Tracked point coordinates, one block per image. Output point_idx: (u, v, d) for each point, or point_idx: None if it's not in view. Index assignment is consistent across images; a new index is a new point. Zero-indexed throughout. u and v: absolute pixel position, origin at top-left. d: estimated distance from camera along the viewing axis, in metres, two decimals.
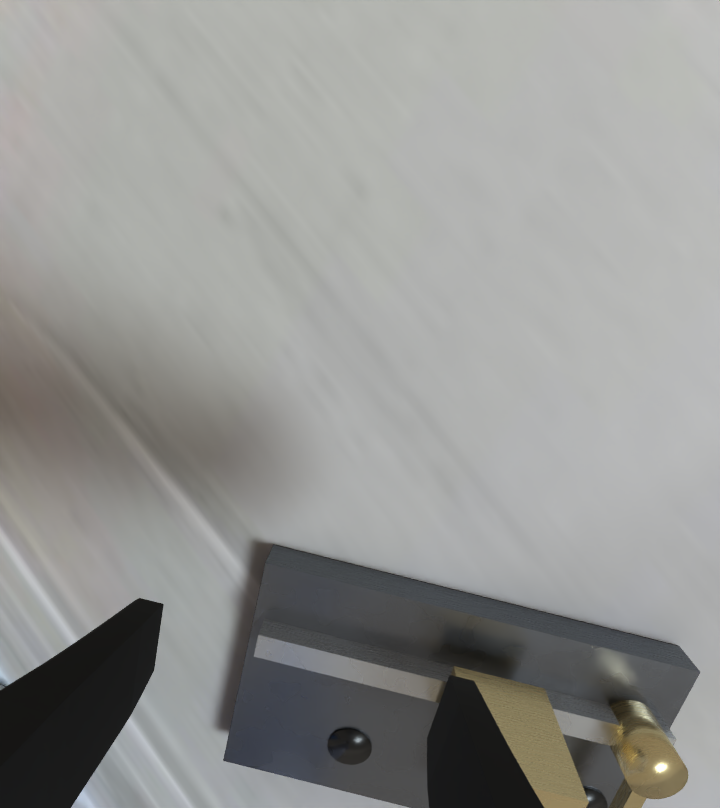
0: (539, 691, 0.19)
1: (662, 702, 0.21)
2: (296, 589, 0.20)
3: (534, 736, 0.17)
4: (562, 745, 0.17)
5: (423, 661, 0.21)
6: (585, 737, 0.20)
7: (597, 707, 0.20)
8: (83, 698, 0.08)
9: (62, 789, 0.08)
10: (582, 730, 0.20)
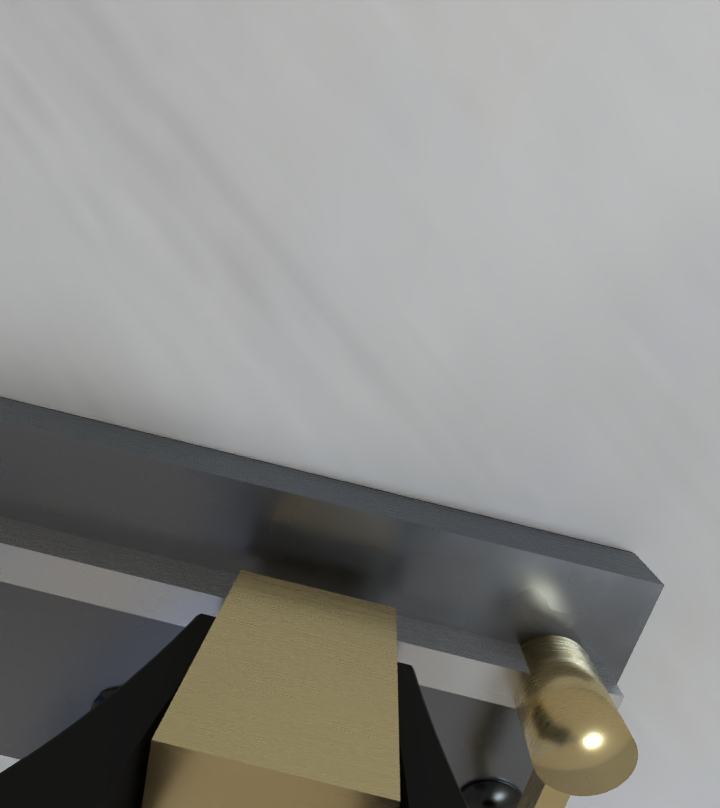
0: (384, 611, 0.11)
1: (605, 638, 0.13)
2: None
3: (336, 677, 0.09)
4: (388, 693, 0.09)
5: (214, 573, 0.13)
6: (474, 694, 0.12)
7: (497, 646, 0.13)
8: None
9: None
10: (468, 681, 0.12)
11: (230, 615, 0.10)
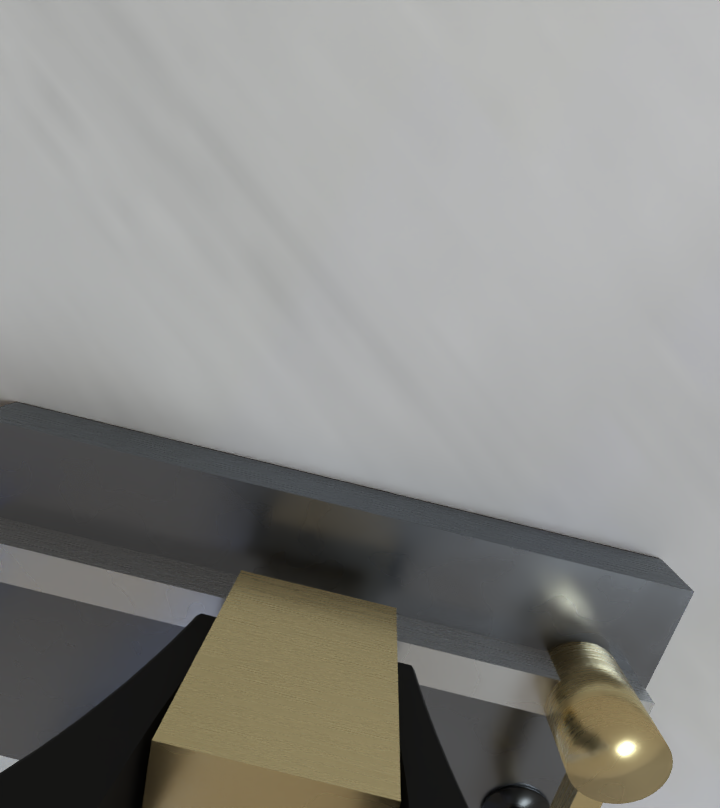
0: (384, 611, 0.11)
1: (633, 645, 0.13)
2: (28, 461, 0.12)
3: (337, 676, 0.09)
4: (389, 693, 0.09)
5: None
6: (504, 701, 0.12)
7: (526, 653, 0.13)
8: None
9: None
10: (498, 689, 0.12)
11: (230, 615, 0.10)
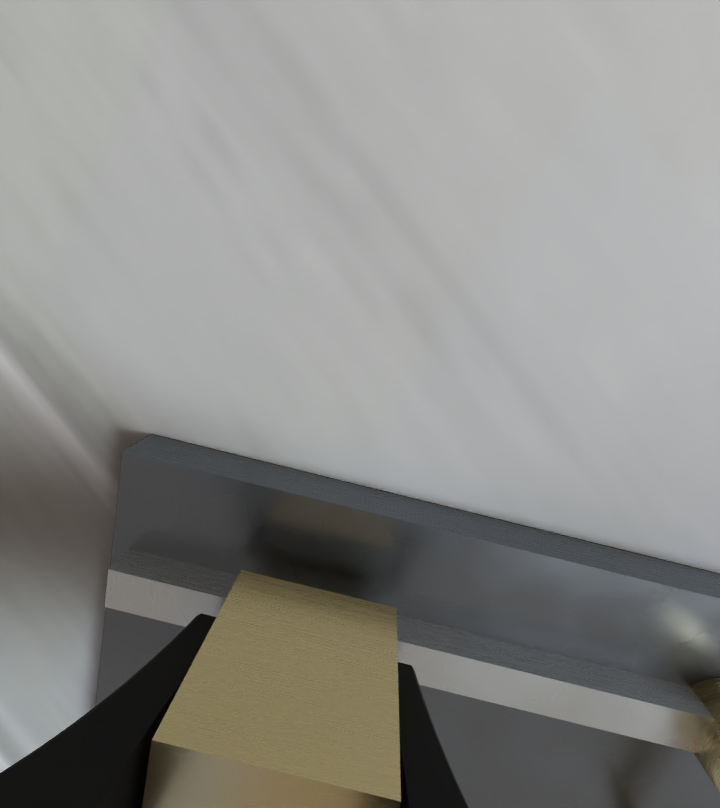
0: (384, 611, 0.11)
1: None
2: (176, 496, 0.12)
3: (337, 676, 0.09)
4: (389, 693, 0.09)
5: None
6: (654, 739, 0.12)
7: (672, 689, 0.12)
8: None
9: None
10: (650, 726, 0.12)
11: (230, 615, 0.10)
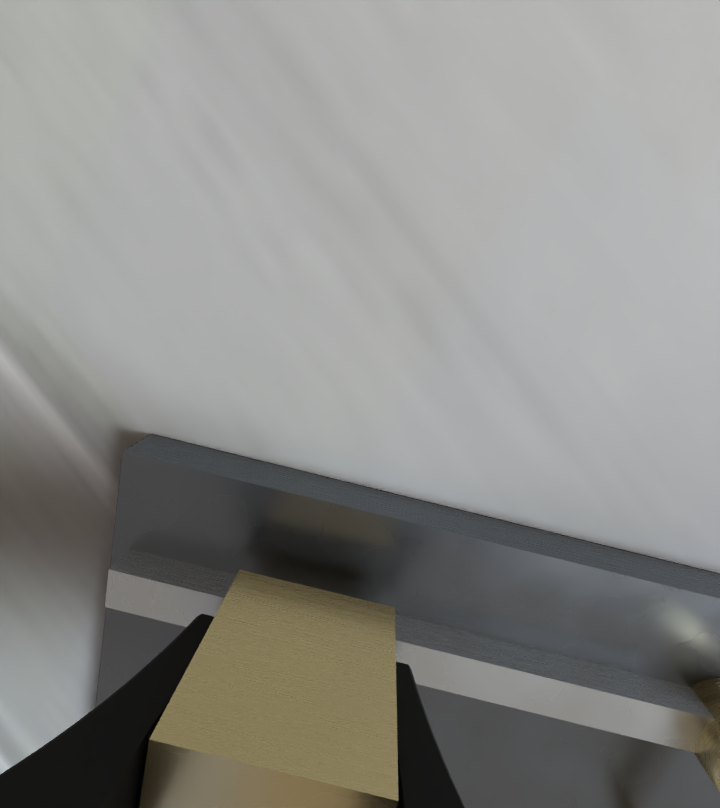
0: (382, 611, 0.11)
1: None
2: (176, 496, 0.12)
3: (335, 676, 0.09)
4: (387, 693, 0.09)
5: None
6: (655, 739, 0.12)
7: (672, 689, 0.12)
8: None
9: None
10: (650, 726, 0.12)
11: (229, 614, 0.10)
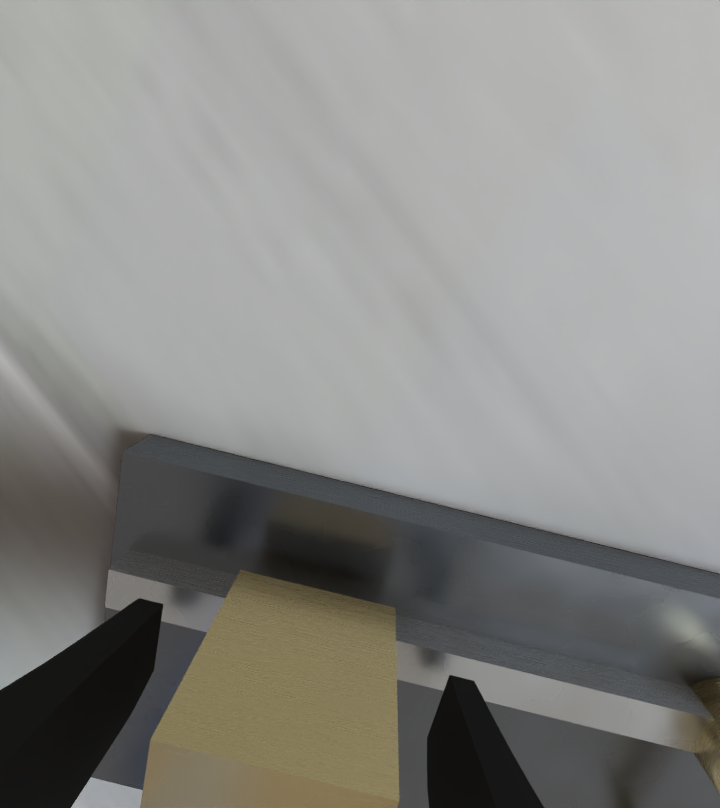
0: (383, 611, 0.11)
1: None
2: (176, 497, 0.12)
3: (336, 676, 0.09)
4: (387, 693, 0.09)
5: None
6: (654, 739, 0.12)
7: (672, 689, 0.13)
8: (83, 697, 0.08)
9: (62, 789, 0.08)
10: (649, 727, 0.12)
11: (229, 615, 0.10)
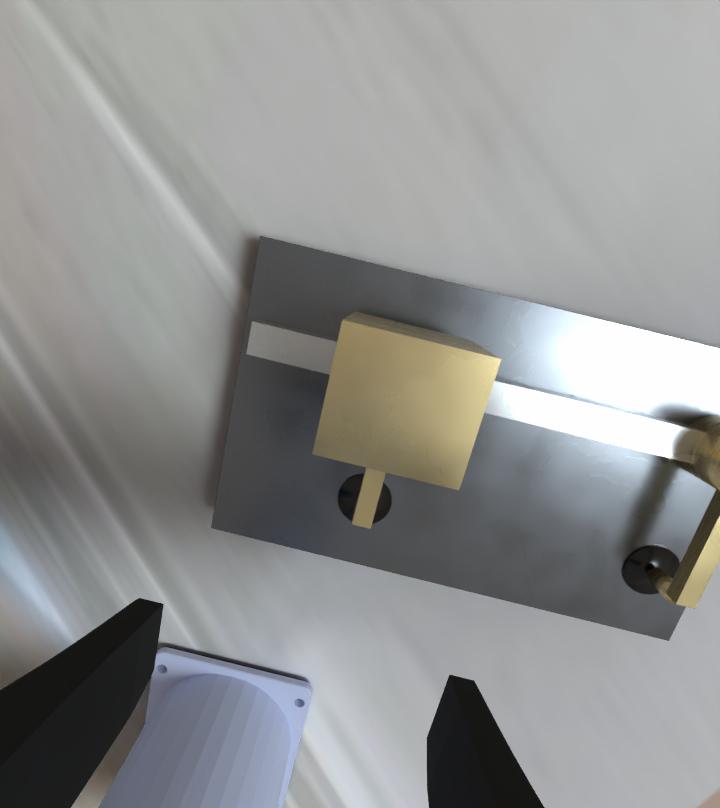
0: (462, 338, 0.15)
1: None
2: (299, 273, 0.16)
3: (442, 338, 0.13)
4: (479, 347, 0.13)
5: None
6: (661, 452, 0.16)
7: (674, 422, 0.16)
8: (83, 697, 0.08)
9: (62, 789, 0.08)
10: (657, 442, 0.16)
11: (360, 315, 0.14)
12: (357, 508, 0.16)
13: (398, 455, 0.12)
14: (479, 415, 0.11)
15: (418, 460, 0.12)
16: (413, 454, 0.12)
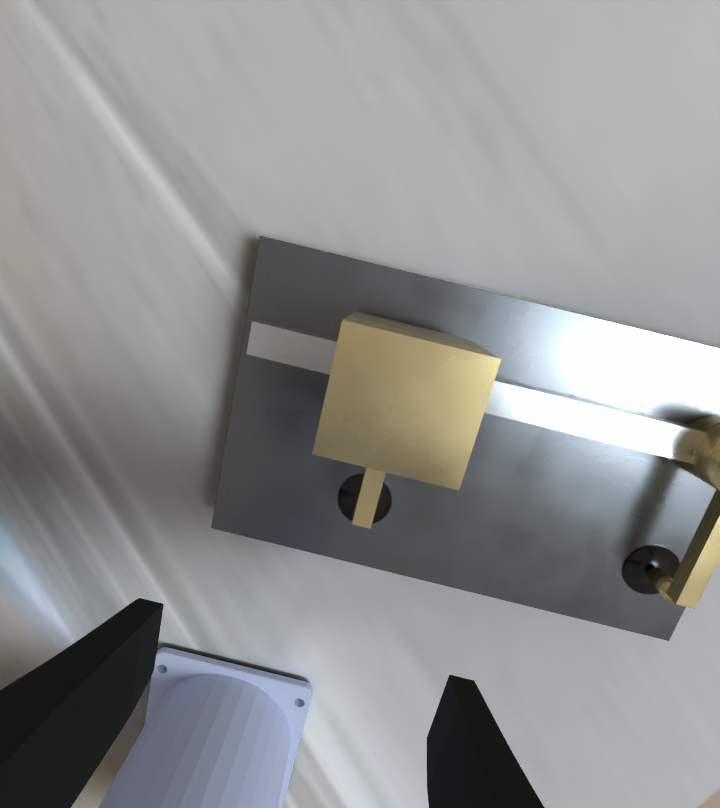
0: (462, 338, 0.15)
1: None
2: (299, 273, 0.16)
3: (442, 338, 0.13)
4: (479, 347, 0.13)
5: None
6: (661, 452, 0.16)
7: (674, 422, 0.16)
8: (83, 697, 0.08)
9: (62, 789, 0.08)
10: (657, 442, 0.16)
11: (360, 315, 0.14)
12: (357, 508, 0.16)
13: (398, 455, 0.12)
14: (479, 415, 0.11)
15: (418, 460, 0.12)
16: (413, 454, 0.12)
